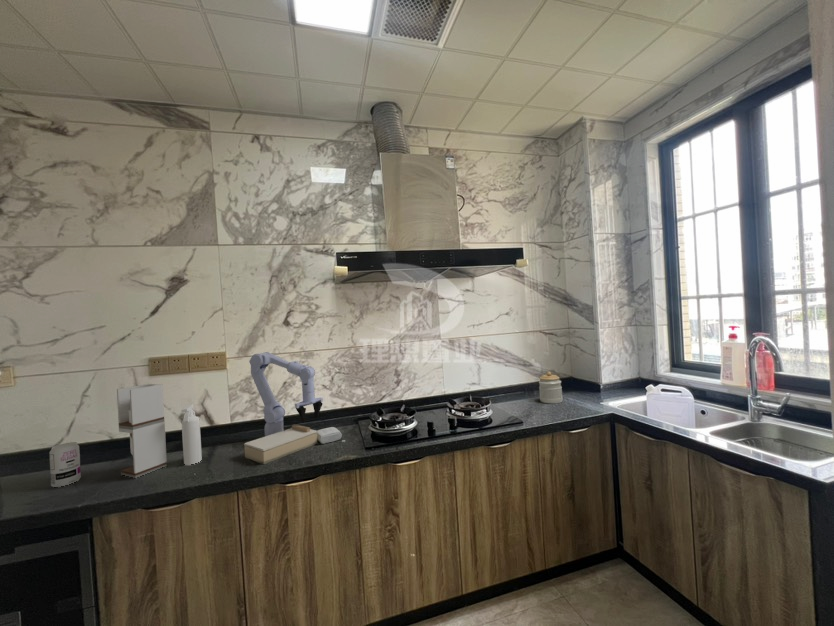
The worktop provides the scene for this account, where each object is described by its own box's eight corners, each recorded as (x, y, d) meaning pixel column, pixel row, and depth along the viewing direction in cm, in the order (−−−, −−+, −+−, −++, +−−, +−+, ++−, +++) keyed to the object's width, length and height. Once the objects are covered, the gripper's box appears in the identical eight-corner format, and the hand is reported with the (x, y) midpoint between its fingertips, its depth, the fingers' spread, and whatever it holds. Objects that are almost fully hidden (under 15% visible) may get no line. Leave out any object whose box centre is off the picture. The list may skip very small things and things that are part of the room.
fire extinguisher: (208, 454, 157) (202, 400, 156) (197, 466, 145) (191, 407, 144) (191, 457, 155) (186, 402, 155) (179, 469, 143) (173, 409, 143)
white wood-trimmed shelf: (152, 464, 150) (148, 383, 151) (166, 466, 146) (162, 384, 147) (121, 475, 140) (116, 389, 141) (135, 478, 136) (130, 389, 137)
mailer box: (245, 457, 150) (244, 445, 151) (297, 438, 171) (296, 428, 171) (264, 464, 141) (263, 452, 141) (317, 443, 161) (316, 432, 162)
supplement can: (64, 479, 140) (62, 442, 140) (86, 477, 140) (84, 440, 141) (44, 489, 132) (42, 450, 132) (68, 487, 132) (66, 447, 133)
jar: (542, 404, 202) (539, 374, 202) (538, 399, 215) (535, 370, 215) (565, 403, 200) (563, 373, 200) (560, 398, 213) (557, 369, 213)
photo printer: (342, 439, 164) (334, 433, 175) (341, 430, 164) (333, 425, 175) (320, 445, 159) (314, 438, 170) (320, 435, 159) (313, 429, 170)
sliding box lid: (244, 445, 151) (244, 439, 151) (296, 427, 171) (296, 422, 171) (263, 451, 141) (263, 444, 141) (316, 432, 162) (316, 426, 162)
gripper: (300, 395, 162) (302, 424, 161) (325, 389, 173) (327, 416, 173) (291, 394, 166) (293, 422, 166) (317, 388, 178) (318, 415, 177)
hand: (310, 419), depth 170 cm, fingers open, 7 cm apart
